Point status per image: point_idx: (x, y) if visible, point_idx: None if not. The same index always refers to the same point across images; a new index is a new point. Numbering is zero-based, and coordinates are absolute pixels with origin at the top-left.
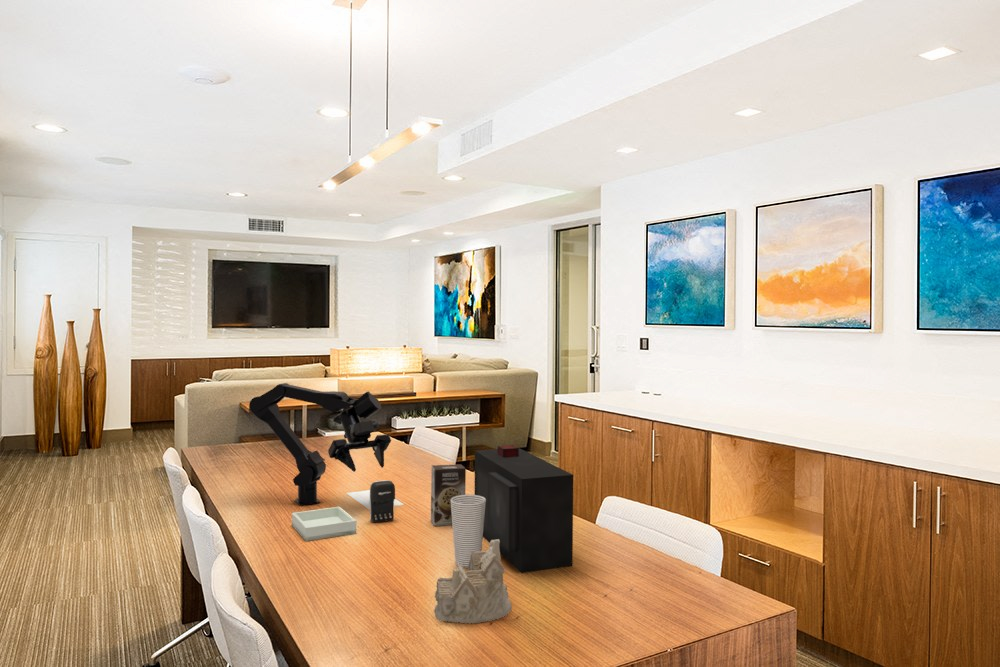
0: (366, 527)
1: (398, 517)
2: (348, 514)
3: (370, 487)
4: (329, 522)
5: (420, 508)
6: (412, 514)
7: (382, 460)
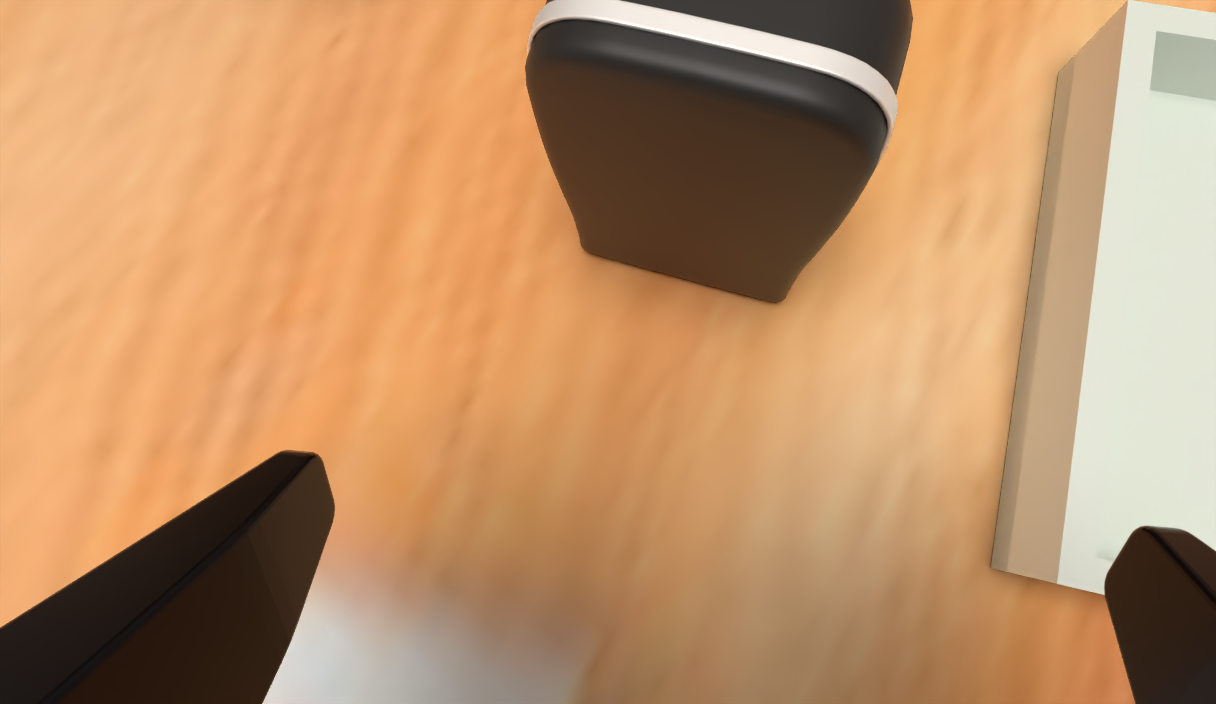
0: (906, 159)
1: (527, 227)
2: (1105, 228)
3: (894, 120)
4: (1206, 401)
5: (206, 333)
6: (380, 223)
7: (195, 542)
